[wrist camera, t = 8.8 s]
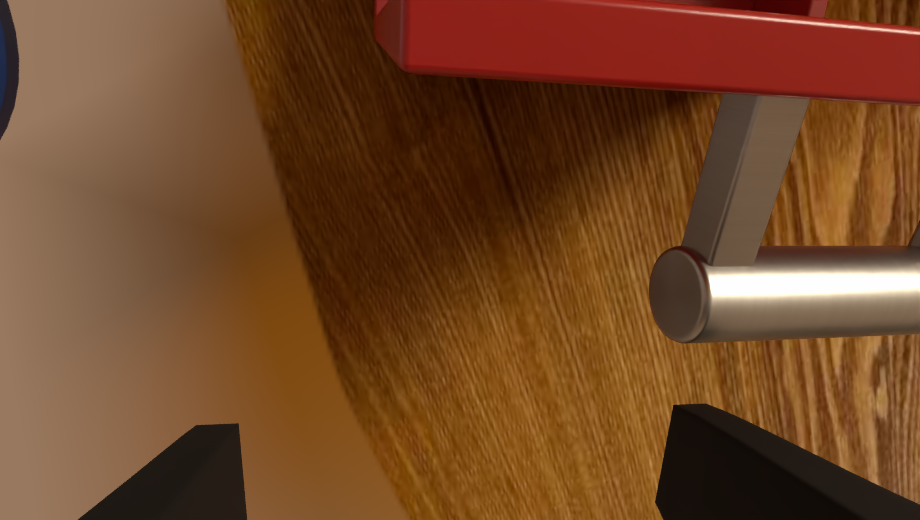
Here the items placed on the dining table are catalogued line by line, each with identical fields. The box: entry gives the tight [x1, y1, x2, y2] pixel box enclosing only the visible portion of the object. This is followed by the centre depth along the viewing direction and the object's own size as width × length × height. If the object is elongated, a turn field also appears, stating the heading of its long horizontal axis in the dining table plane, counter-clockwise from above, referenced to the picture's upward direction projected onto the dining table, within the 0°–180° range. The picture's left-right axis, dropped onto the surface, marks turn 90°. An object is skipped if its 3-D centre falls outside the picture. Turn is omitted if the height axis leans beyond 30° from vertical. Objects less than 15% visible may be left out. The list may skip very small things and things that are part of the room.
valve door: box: [375, 0, 920, 343], centre depth 10 cm, size 10×13×4 cm
